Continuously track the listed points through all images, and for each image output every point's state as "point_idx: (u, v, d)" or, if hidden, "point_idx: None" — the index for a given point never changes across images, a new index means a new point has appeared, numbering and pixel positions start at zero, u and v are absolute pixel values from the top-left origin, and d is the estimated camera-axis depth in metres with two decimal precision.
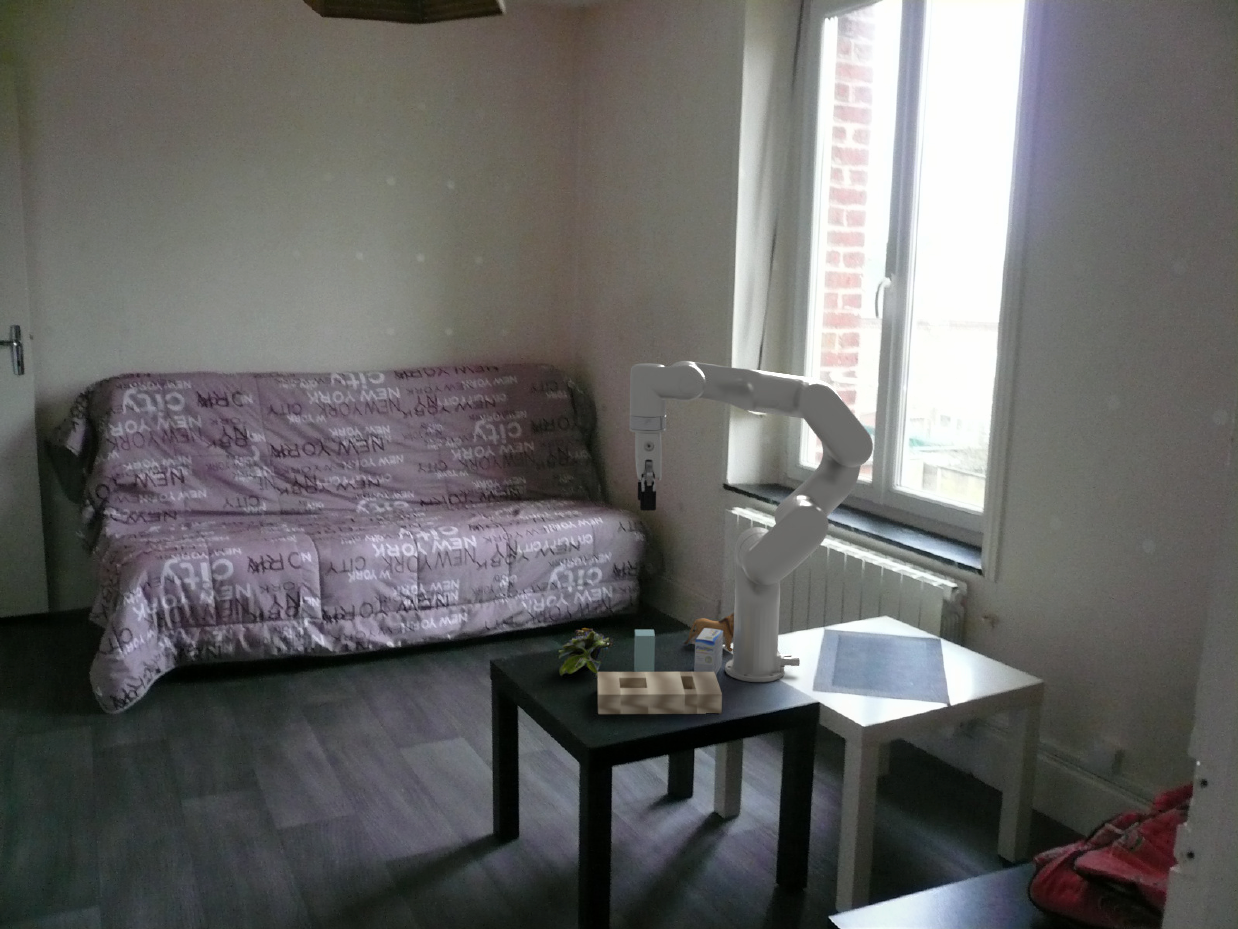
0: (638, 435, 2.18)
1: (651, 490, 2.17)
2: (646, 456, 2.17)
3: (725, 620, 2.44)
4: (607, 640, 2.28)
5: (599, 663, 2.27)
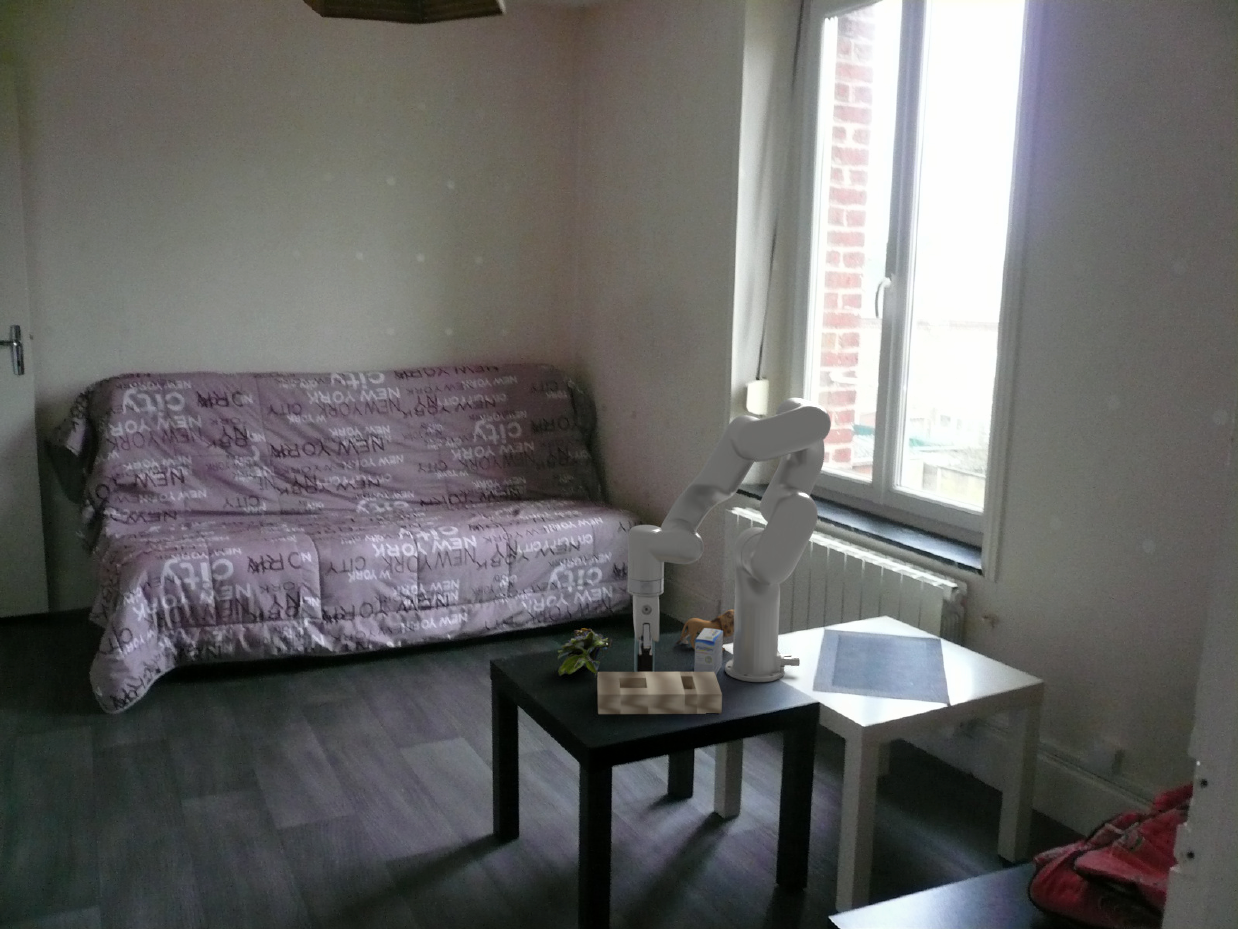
0: (636, 598, 2.21)
1: (648, 655, 2.23)
2: (644, 620, 2.20)
3: (717, 620, 2.44)
4: (606, 640, 2.28)
5: (598, 663, 2.27)
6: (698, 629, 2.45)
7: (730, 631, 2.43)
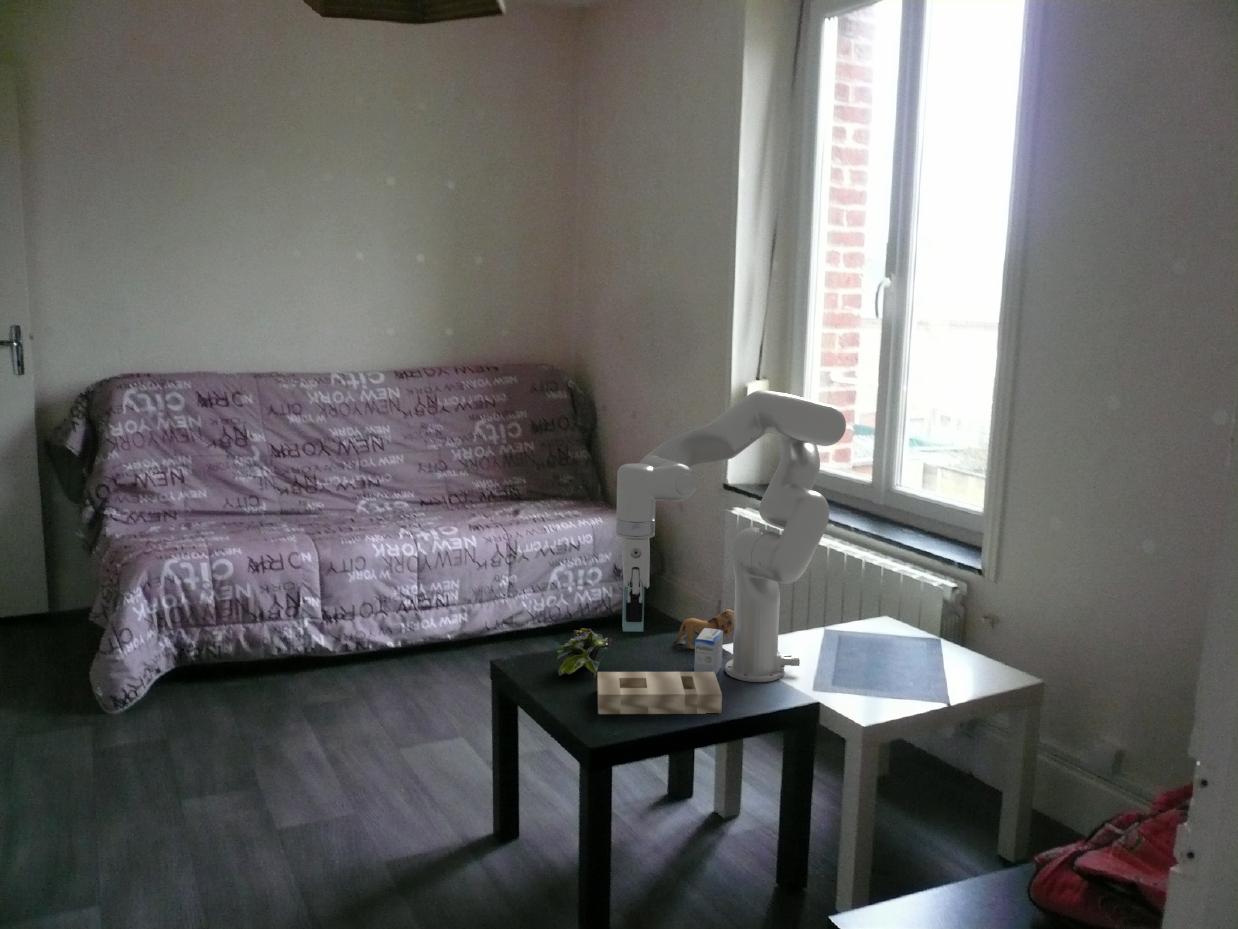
0: (625, 541, 2.06)
1: (637, 603, 2.08)
2: (633, 564, 2.05)
3: (714, 620, 2.44)
4: (606, 640, 2.28)
5: (598, 663, 2.27)
6: (695, 629, 2.45)
7: (727, 631, 2.43)
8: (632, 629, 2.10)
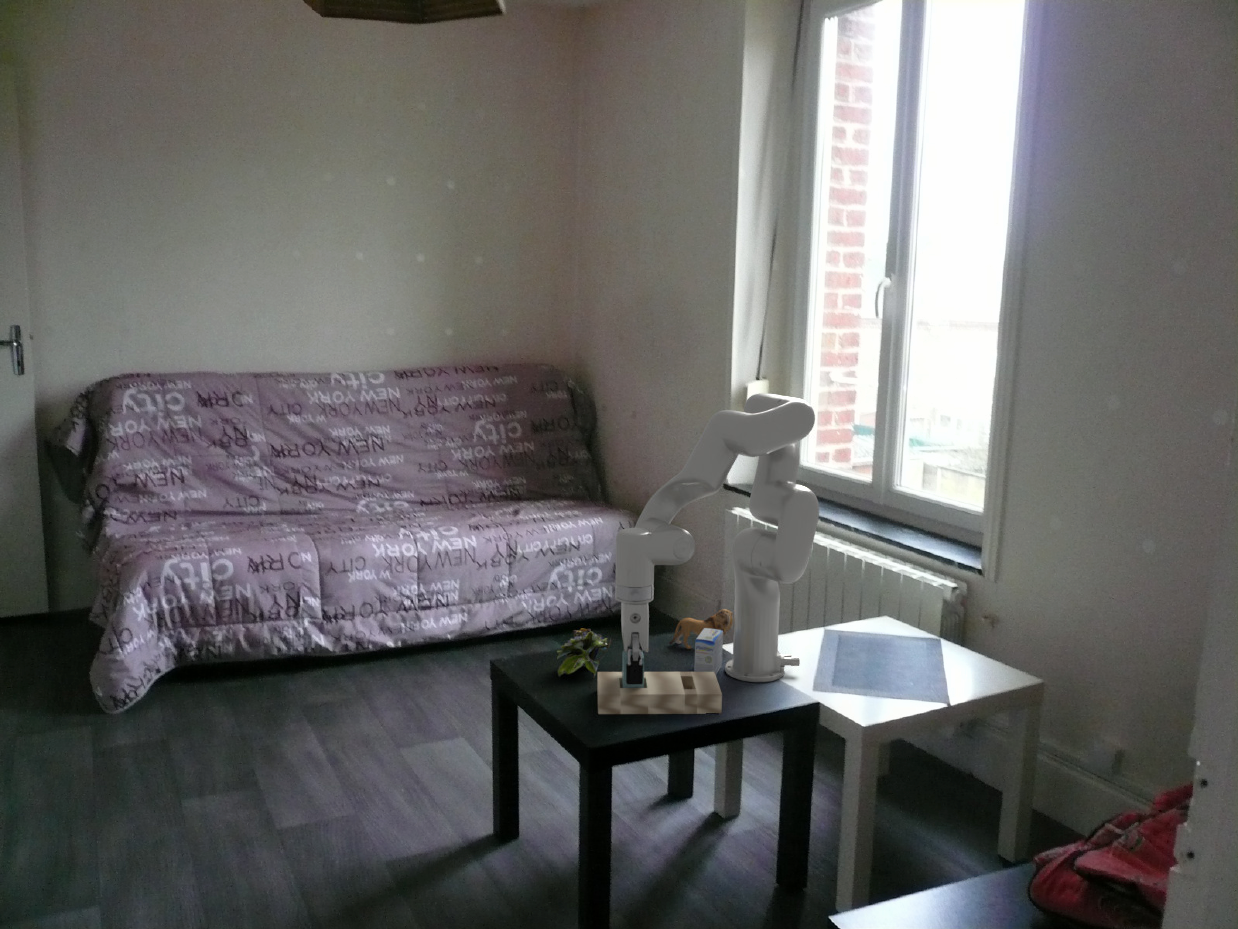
0: (624, 606, 2.07)
1: (637, 664, 2.07)
2: (633, 629, 2.06)
3: (710, 619, 2.44)
4: (605, 640, 2.28)
5: (597, 663, 2.27)
6: (691, 629, 2.45)
7: (723, 631, 2.44)
8: None
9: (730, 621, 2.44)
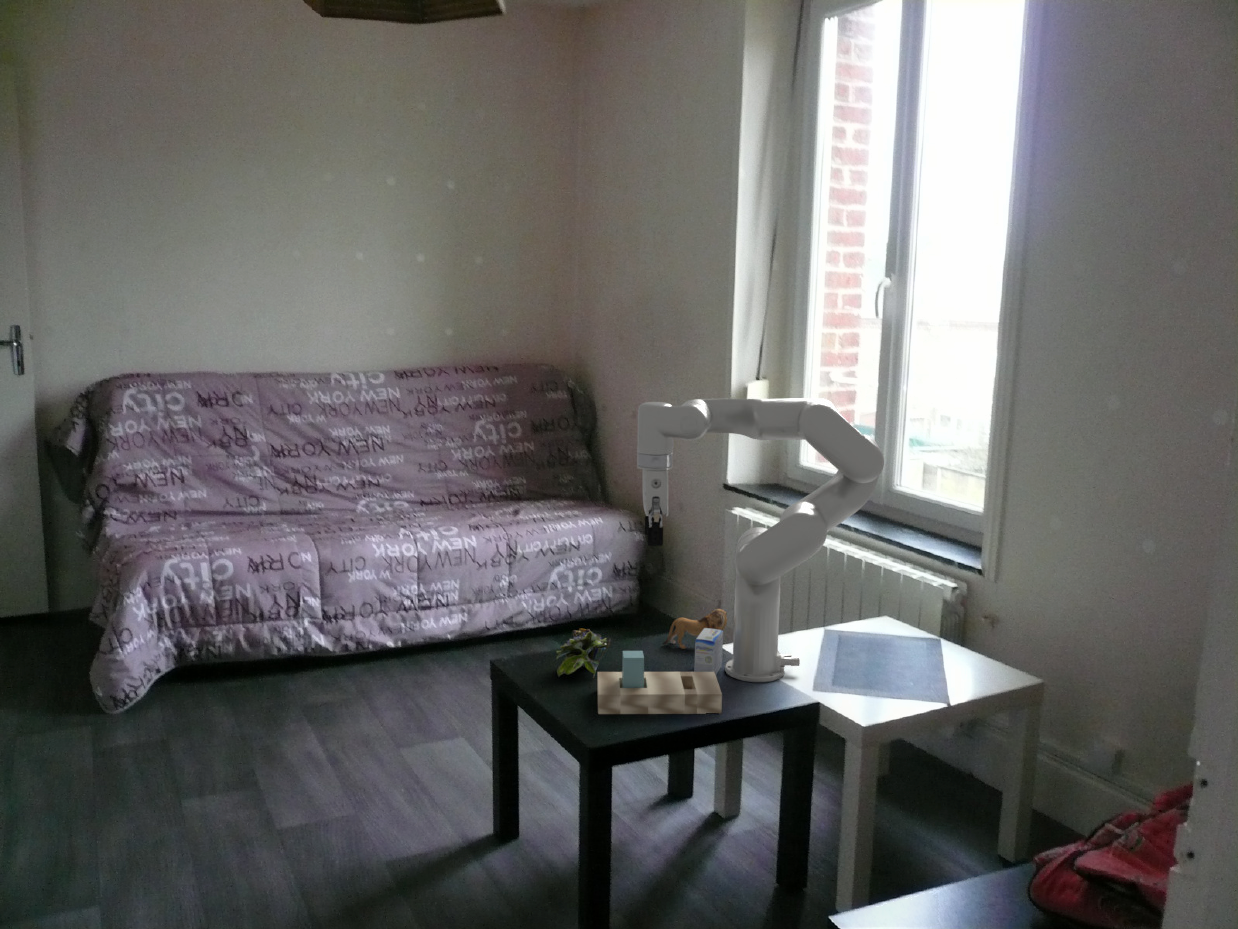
0: (645, 472, 2.23)
1: (658, 526, 2.22)
2: (654, 493, 2.22)
3: (704, 619, 2.44)
4: (605, 640, 2.28)
5: (597, 663, 2.27)
6: (685, 629, 2.45)
7: None
8: None
9: (724, 621, 2.44)
